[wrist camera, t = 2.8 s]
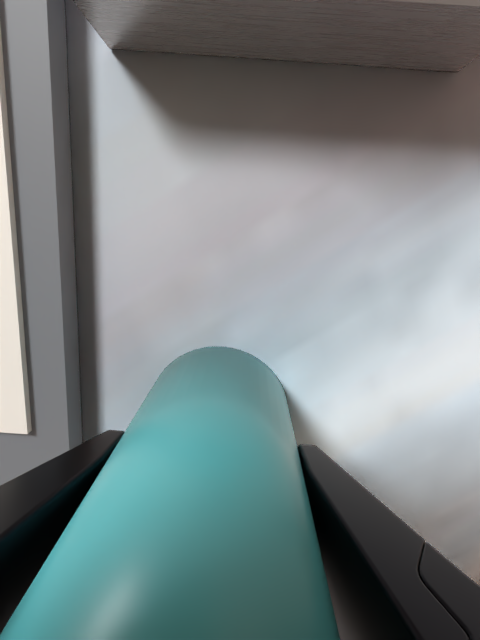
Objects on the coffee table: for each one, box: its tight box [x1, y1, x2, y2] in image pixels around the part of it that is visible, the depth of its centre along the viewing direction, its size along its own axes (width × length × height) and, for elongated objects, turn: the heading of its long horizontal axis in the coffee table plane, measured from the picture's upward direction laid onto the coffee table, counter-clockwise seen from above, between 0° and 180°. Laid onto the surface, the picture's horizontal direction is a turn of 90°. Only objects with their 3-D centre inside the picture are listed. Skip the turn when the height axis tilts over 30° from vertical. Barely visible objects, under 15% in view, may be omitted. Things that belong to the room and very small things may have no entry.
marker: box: [0, 347, 340, 640], centre depth 6 cm, size 4×4×9 cm
